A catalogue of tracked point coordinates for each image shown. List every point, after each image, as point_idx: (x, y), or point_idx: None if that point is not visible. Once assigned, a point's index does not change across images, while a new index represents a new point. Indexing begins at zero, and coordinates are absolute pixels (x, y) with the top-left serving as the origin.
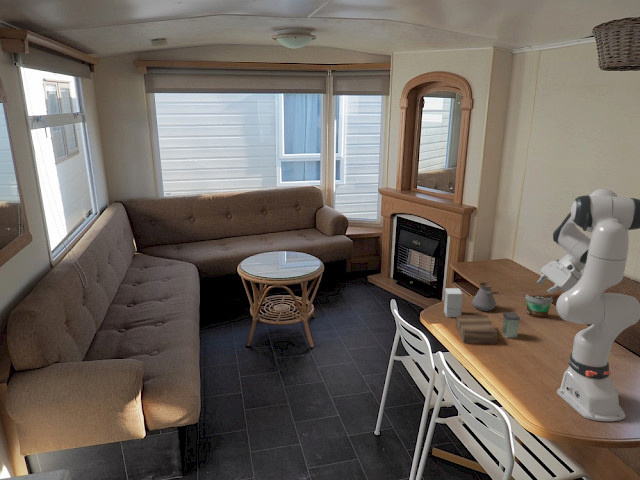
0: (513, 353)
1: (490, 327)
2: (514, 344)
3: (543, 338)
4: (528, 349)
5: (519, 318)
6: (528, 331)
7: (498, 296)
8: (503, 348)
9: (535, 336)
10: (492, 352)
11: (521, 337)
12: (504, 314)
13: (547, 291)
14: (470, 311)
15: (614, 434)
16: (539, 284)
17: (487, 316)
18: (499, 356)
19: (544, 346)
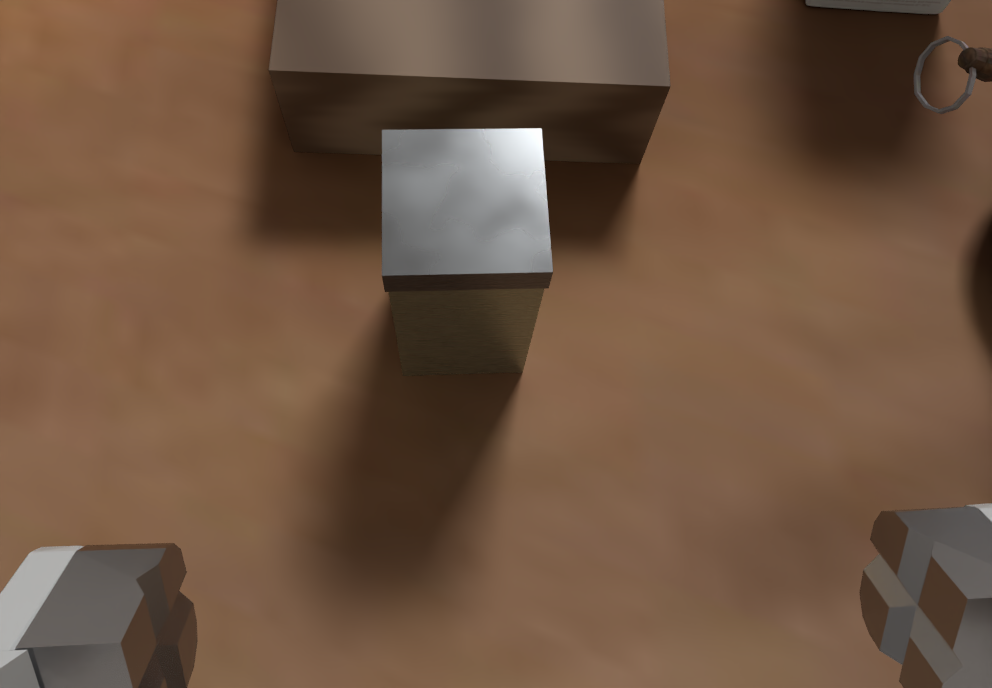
0: (94, 237)
1: (375, 37)
2: (265, 303)
3: (386, 669)
4: (151, 402)
5: (384, 278)
6: (557, 554)
7: (918, 95)
8: (197, 182)
9: (435, 590)
10: (136, 76)
11: (412, 423)
12: (505, 135)
13: (87, 548)
14: (966, 116)
15: None
16: (872, 573)
17: (647, 82)
18: (60, 109)
19: (197, 602)
